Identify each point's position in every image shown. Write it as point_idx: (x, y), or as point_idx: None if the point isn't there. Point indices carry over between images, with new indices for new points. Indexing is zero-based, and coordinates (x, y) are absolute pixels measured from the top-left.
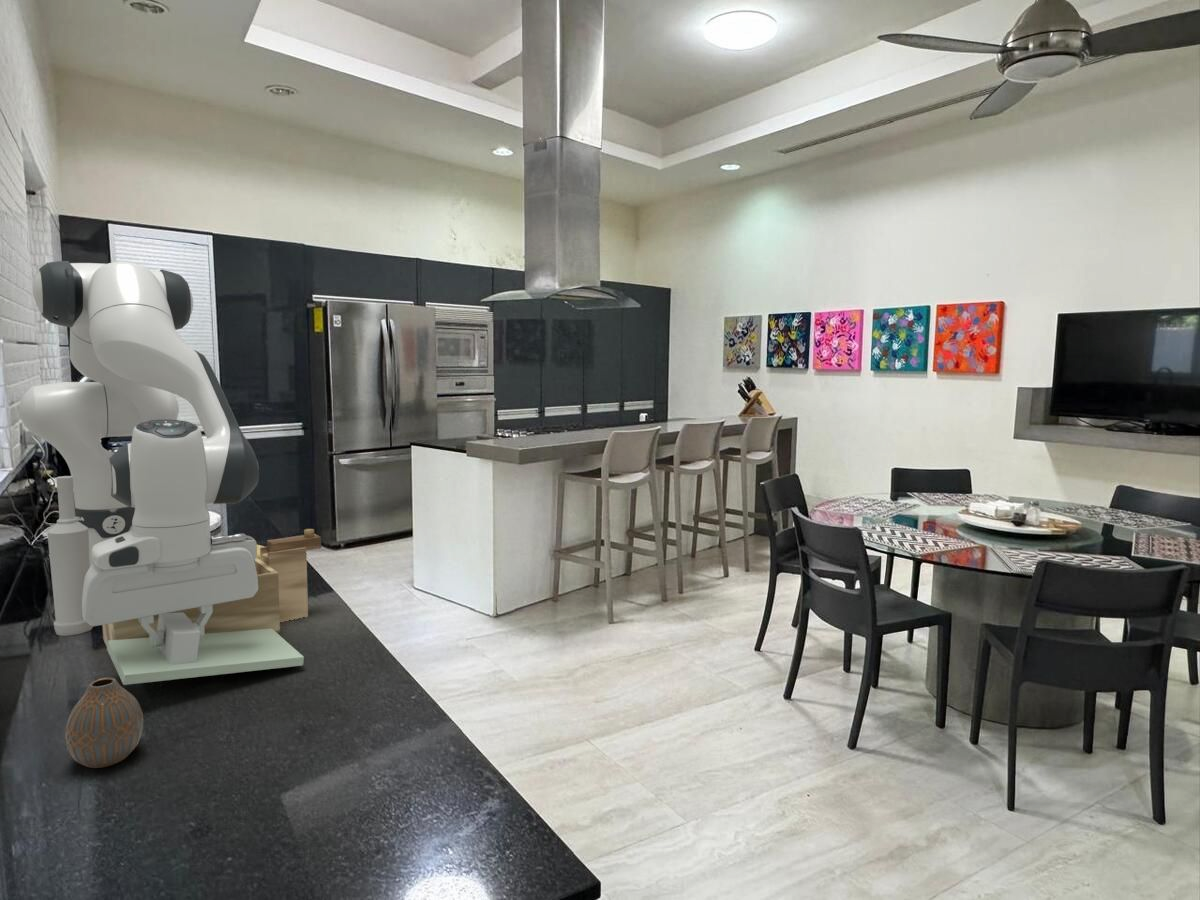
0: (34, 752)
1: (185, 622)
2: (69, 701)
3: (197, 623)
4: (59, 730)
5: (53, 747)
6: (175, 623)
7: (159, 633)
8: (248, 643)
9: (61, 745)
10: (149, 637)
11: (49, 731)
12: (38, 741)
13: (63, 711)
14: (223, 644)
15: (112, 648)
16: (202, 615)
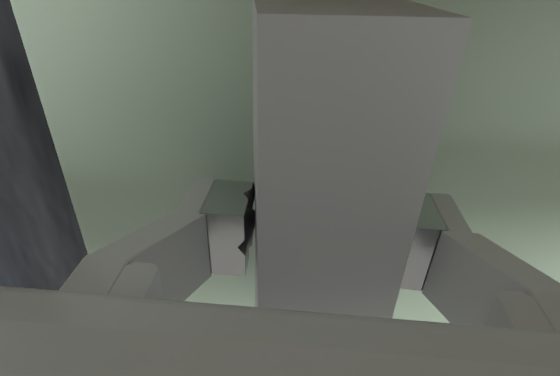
0: (11, 281)
1: (366, 283)
2: (4, 60)
3: (433, 263)
4: (31, 226)
5: (41, 284)
6: (306, 294)
7: (223, 268)
8: None
9: (53, 286)
10: (187, 192)
11: (11, 217)
12: (3, 246)
13: (9, 126)
14: (524, 139)
15: (29, 55)
16: (479, 308)
